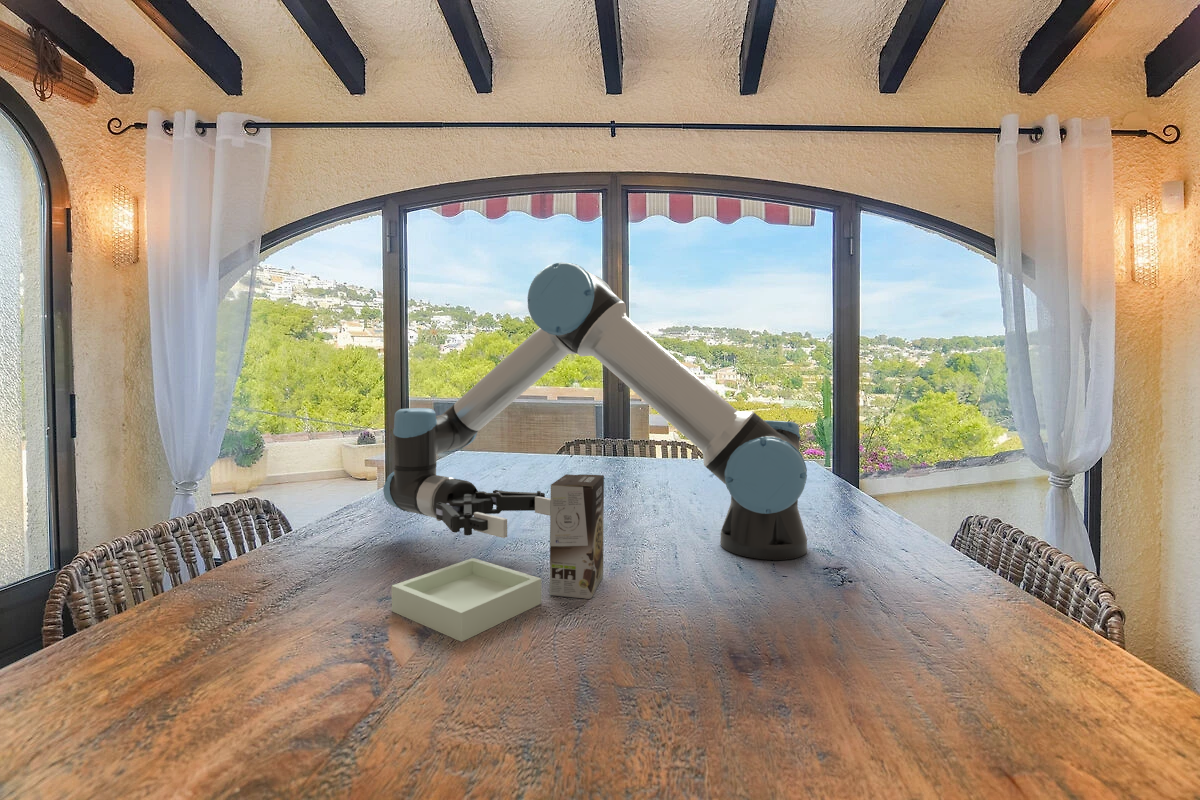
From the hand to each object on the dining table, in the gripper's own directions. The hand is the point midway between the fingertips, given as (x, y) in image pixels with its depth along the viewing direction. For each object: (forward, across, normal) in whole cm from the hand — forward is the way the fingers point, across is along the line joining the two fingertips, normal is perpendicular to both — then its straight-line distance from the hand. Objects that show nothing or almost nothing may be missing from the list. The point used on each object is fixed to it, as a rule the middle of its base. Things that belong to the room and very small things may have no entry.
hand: (537, 518), depth 90 cm
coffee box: (+8, 0, -9) cm, 12 cm away
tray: (+1, +15, -9) cm, 17 cm away
